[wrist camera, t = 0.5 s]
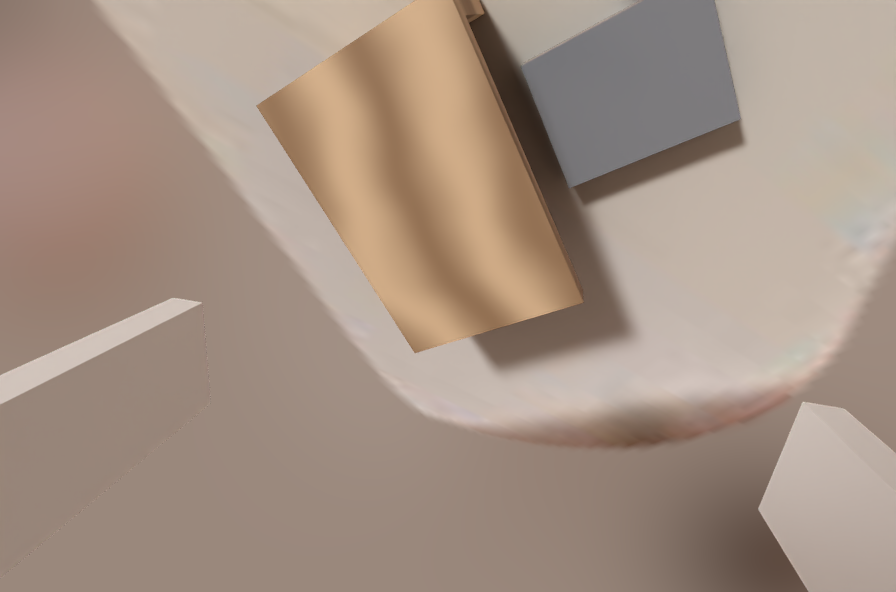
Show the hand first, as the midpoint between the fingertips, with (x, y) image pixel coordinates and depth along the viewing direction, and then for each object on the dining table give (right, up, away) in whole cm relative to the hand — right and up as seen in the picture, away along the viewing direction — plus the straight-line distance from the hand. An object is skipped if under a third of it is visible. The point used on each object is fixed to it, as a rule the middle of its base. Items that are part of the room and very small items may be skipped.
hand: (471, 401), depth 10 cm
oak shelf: (0, +12, +23) cm, 26 cm away
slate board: (+10, +15, +18) cm, 26 cm away
